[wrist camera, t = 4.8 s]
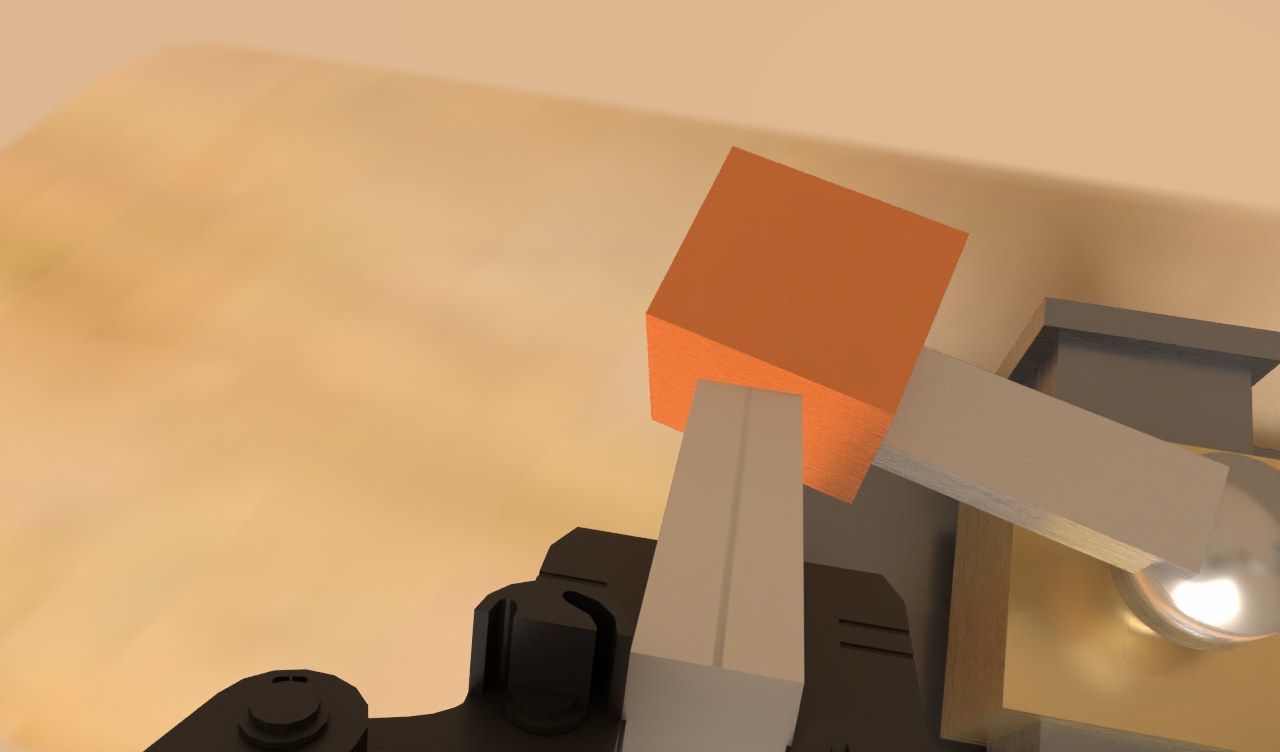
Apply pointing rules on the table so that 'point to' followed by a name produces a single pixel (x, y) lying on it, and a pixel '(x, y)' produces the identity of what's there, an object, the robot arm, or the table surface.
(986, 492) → the valve lever
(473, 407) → the table surface
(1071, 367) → the valve body
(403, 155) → the table surface
